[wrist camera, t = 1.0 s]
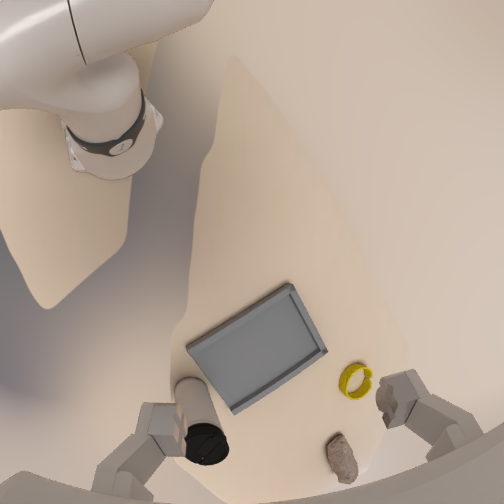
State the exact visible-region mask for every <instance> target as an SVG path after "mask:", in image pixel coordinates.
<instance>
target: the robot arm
mask: <svg viewBox="0 0 504 504" xmlns="http://www.w3.org/2000/svg"><path fill="white" fill-rule="evenodd" d="M213 2H214V0H0V111H1V110H6V109H35V110H41V111H46V112H50V113H53V114H56V115H58V116H59V117H60V118H61V119H60V122H61V126H62V129H63V130H65V132H66V136H65V138H66V142H67V145H68V151H69V157H70V163H71V167H72V169H73V170H74V171H77V172H89V173H91V174H93V175H95V176H97V177H99V178H103V179H108V180H116V179H122V178H125V177H128V176H130V175H132V174H134V173H135V172H137V171H138V170H139V169H141V168H142V167H143V166H144V165H145V164H146V162H147V161H148V160H149V158H150V156H151V155H152V152H153V150H154V146H155V141H156V136H157V133H158V132H159V130H160V129H161V127H162V125H163V123H164V120H163V117H162V115H161V114H160V113H159V112H158V111H157V110H156V109H155V107H154V106H153V105H152V104H151V103H150V102H149V101H148V99H147V98H146V97H145V96H144V94H143V91H142V89H141V88H140V77H139V70H138V67H137V64H136V63H135V61H134V60H133V58H132V57H131V56H130V55H129V54H127V53H126V52H125V51H126V50H128V49H131V48H134V47H138V46H141V45H144V44H147V43H150V42H154V41H157V40H159V39H161V38H163V37H165V36H167V35H170V34H172V33H175V32H177V31H179V30H182V29H184V28H186V27H188V26H191V25H193V24H195V23H198V22H200V21H201V20H202V19H203V18H204V16H205V15H206V14H207V12H208V11H209V9H210V8H211V6H212V4H213ZM75 158H76V160H75ZM379 384H380V386H381V387H379V388H378V389H377V392H376V404H377V407H378V409H379V410H380V411H382V412H383V413H384V414H383V417H382V418H383V421H384V423H385V425H386V427H387V429H390V428H393V427H397V426H400V425H403V424H405V426H407V427H408V428H409V429H410V430H412V431H413V432H414V433H416V434H417V435H418V436H420V437H421V438H423V439H424V440H425V441H426V442H428V443H429V444H431V445H432V446H433V447H432V448H431V449H430V451H429V452H428V453H427V455H426V459H427V461H428V462H427V463H425V464H423V465H420V466H418V467H415V468H413V469H410V470H407V471H405V472H402V473H399V474H396V475H393V476H391V477H388V478H385V479H381V480H378V481H375V482H372V483H368V484H365V485H361V486H358V487H354V488H350V489H346V490H342V491H338V492H333V493H328V494H323V495H318V496H313V497H307V498H301V499H295V500H287V501H279V502H270V503H260V504H504V422H503V423H502V424H500V425H499V426H497V427H495V428H494V429H492V430H491V431H489V432H488V433H485V434H484V433H483V432H482V430H481V428H480V426H479V425H478V423H477V421H476V420H475V418H474V417H473V415H472V414H471V413H469V412H467V411H465V410H463V409H461V408H459V407H457V406H455V405H453V404H451V403H449V402H447V401H446V400H443V399H442V398H440V397H437V396H436V395H434V394H432V395H430V393H429V392H428V390H427V389H426V387H425V385H424V383H423V382H422V380H421V379H420V377H419V375H418V374H417V372H416V370H414V369H411V370H408V371H404V372H399V373H396V374H392V375H389V376H385V377H382V378H381V379H380V382H379ZM187 430H188V428H187V420H186V416H185V414H183V413H182V407H181V405H180V403H148V402H144V403H143V404H142V406H141V410H140V414H139V418H138V423H137V427H136V431H135V434H131V435H130V436H129V437H128V438H127V439H126V440H125V441H124V442H123V443H122V444H121V445H119V446H118V447H117V448H116V449H115V450H114V451H113V452H112V453H111V454H110V455H109V456H108V457H107V458H105V459H104V460H103V461H102V462H101V463H100V464H99V465H98V466H97V469H96V473H95V477H94V481H93V485H92V489H91V491H88V490H85V489H81V488H76V487H73V486H70V485H66V484H63V483H59V482H56V481H53V480H50V479H47V478H44V477H41V476H39V475H36V474H33V473H31V472H27V471H21V472H19V473H17V474H15V475H13V476H12V477H10V478H9V479H7V480H6V481H4V482H3V483H1V484H0V504H169V503H158V502H153V497H154V496H153V495H152V493H151V492H150V491H149V490H147V489H146V488H145V487H144V484H145V483H146V482H147V481H148V479H149V478H150V477H151V476H152V474H153V473H154V472H155V471H156V469H157V468H158V467H159V465H160V464H161V463H162V461H163V460H164V459H165V458H166V457H165V456H168V457H185V454H186V442H185V440H184V438H185V437H186V436H187Z"/></svg>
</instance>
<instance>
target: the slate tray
mask: <svg viewBox="0 0 504 504" xmlns="http://www.w3.org/2000/svg"><path fill="white" fill-rule="evenodd" d="M186 349H187V352H188V353H189V355H190V356H192V357H193V359H194V360H195V362H196V363H197V365H198V366H199V367H200V369H201V370H202V372H203V373H204V374H205V376H206V377H207V379H208V380H209V381H210V383H211V384H212V385H213V387H214V388H215V389H216V391H217V392H218V393H219V395H220V396H221V397H222V399H223V400H224V401H225V403H226V404H227V405H228V406H229V408H230V410H231V412H232V413H233V414H234V415H236V414H237V413H239V412H241V411H242V410H244V409H246V408H247V407H249V406H251V405H252V404H254V403H255V402H257V401H259V400H260V399H262V398H263V397H265V396H266V395H268V394H269V393H271V392H272V391H274V390H275V389H277V388H278V387H280V386H281V385H283V384H284V383H286V382H287V381H289V380H290V379H292V378H293V377H295V376H296V375H297V374H299V373H300V372H302V371H303V370H304V369H306V368H307V367H309V366H310V365H311V364H313V363H314V362H315V361H317V360H318V359H320V358H321V357H322V356H324V355H325V354H326V353H327V352H328V350H327V348H326V346H325V344H324V342H323V341H322V339H321V337H320V335H319V333H318V331H317V329H316V327H315V325H314V323H313V321H312V319H311V318H310V316H309V314H308V312H307V310H306V308H305V306H304V304H303V302H302V301H301V299H300V297H299V295H298V293H297V291H296V289H295V287H294V285H293V284H290V283H287V284H285V285H284V286H282V287H281V288H279V289H277V290H276V291H274V292H273V293H271V294H270V295H268V296H267V297H265V298H264V299H262V300H260V301H259V302H257V303H256V304H254V305H253V306H251V307H249V308H248V309H246V310H245V311H243V312H242V313H240V314H238V315H237V316H235V317H234V318H232V319H230V320H229V321H227V322H226V323H224V324H222V325H221V326H219V327H218V328H216V329H214V330H213V331H211V332H209V333H208V334H206V335H204V336H203V337H201V338H200V339H198V340H196V341H195V342H193V343H191V344H190V345H188V346H186Z"/></svg>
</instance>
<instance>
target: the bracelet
mask: <svg viewBox="0 0 504 504" xmlns="http://www.w3.org/2000/svg"><path fill="white" fill-rule="evenodd" d="M361 369H364V374H365V376H366V377H367V378H366V379H364V381H363V383H362V385H361V387H360V388H359V389H358V390H357V391H355V392H353V393H349V394H348V393H347V387H348V383H349V380H350V379H351V377H352V376H353V375H354V373H356V372H357V371H358V370H361ZM372 376H373V373H372V370H371V369H370V368H368V367H366V366H364V365H362V364H352V365H349V366H348V367H347V368H346V369H345V370H344V372H343V373H342V375H341V378H340V381H339V389H340V391H341V392H342V393H343V394H344V395H345V396H347V397H348V398H350V399H351V400H358V399H361V398H362V397H364V396H365V395H366V394H367V393H368V392H369V391H370V389H371V387H372V383H371V381H370V379H368V378H372Z"/></svg>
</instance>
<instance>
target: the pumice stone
mask: <svg viewBox="0 0 504 504" xmlns="http://www.w3.org/2000/svg"><path fill="white" fill-rule="evenodd" d="M327 452H328V459H329V462H330V465H331V468H332V470H333V472H335V474H337V476H338V482H339V483H344V484H351V483H352V482H354V481H355V479H356V478H357V476H358V466H357V462H356V460H355V459H354V456H353V451H352V449H351V448H350V446H349V444H348V442H347V441H346V439H345V438H344V435H339V436H337V437H336V438H335V439H334V440H333V441H331V442H330V443H329V444H328V447H327Z"/></svg>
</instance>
